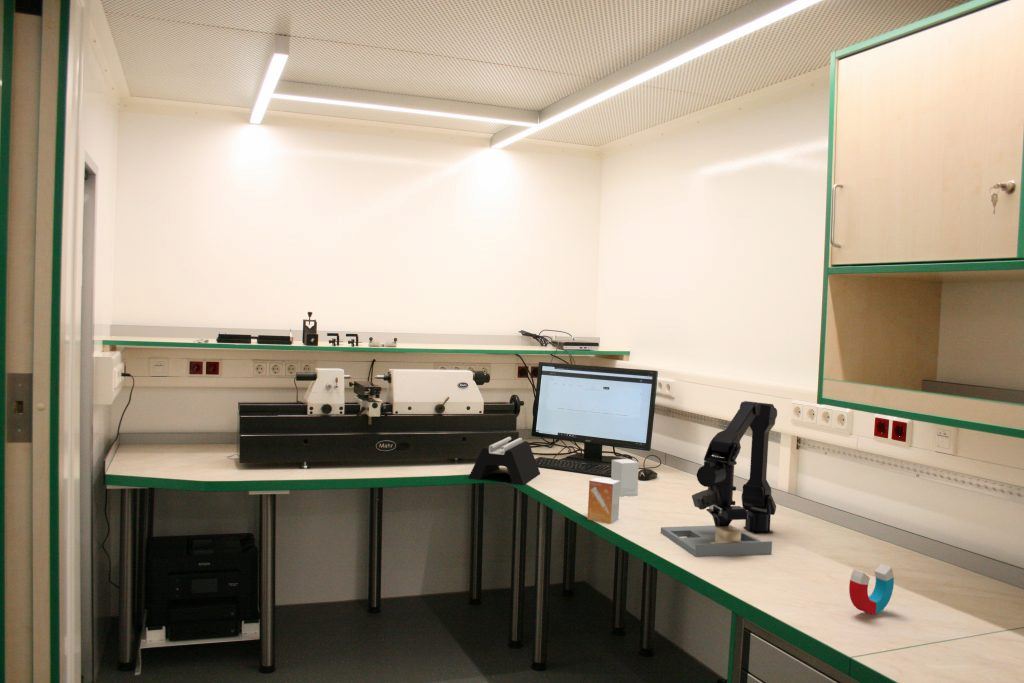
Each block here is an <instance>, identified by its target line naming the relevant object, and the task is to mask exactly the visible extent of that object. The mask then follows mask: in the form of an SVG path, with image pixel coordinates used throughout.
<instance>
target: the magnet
mask: <svg viewBox="0 0 1024 683" xmlns="http://www.w3.org/2000/svg"><path fill="white" fill-rule="evenodd" d="M874 576H875V584H874V585H875V586H874V588H873V590H872V592H871V594H870V595H869V594H868V592H869V591H868V590H869V589H868V587H869V584H870V583H869V582H870V579H871V577H870V576H869V575H868V574H866V573H865V572H864V571H861V570H857V569H855V568H854V569H852V572H851V575H850V578H849V585H848V586H849V587H848V591H849V593H848V594H849V598H850V601H851V603H852V605H853V607H854V608H856V609H857V610H858V611H861V612H864V613H865V614H868V615H877V614H879V613H881V612H882V611H884V609H885V608H886V607H887V606H888V604H889V603H890V600H891V598H892V596H893V592H894V591H893V590H894V586H895V585H894V584H895V583H894V582H895V581H894V580H895V579H894V571H893V568H892V566H889V565H886V564H883V563H880V564H879V566H877V568H876V569H875V570H874Z"/></svg>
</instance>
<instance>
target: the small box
mask: <svg viewBox="0 0 1024 683" xmlns="http://www.w3.org/2000/svg"><path fill="white" fill-rule="evenodd" d="M588 483H589V484H588V501H587V505H588V506H587V520H588V521H595V522H599V523H605V524H610V525H611V524H613V523H615V522H617V521H618V520H619V516H620V514H619V512H620V481H619V480H612V479H611V478H604V477H594V478H591V479H590V480H589V482H588Z"/></svg>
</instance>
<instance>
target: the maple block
mask: <svg viewBox="0 0 1024 683" xmlns="http://www.w3.org/2000/svg"><path fill="white" fill-rule="evenodd" d="M732 526H733V525H732ZM732 526H723V527H716V529H715V543H737V542H741V531H742V530H741V529H739V528H737V527H735V526H733V527H732ZM734 527H735V528H734ZM736 528H737V529H736ZM738 529H739V530H738ZM740 530H741V531H740Z"/></svg>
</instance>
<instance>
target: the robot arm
mask: <svg viewBox="0 0 1024 683" xmlns="http://www.w3.org/2000/svg"><path fill="white" fill-rule="evenodd" d="M777 416H778V409H777V408H776V407H775V406H774V404H773V403H768V402H767V403H765V402H757V401H747V400H744V401H741V403H740V405H739V409H738V410H737V411H736V413H735V415H734V416H733V418H732V419H731V420H730V422H729V423H728V425H727V426H726V428H725V429H724V430H721V431H719V432H717V433H716V434H715V435H714V436H713V438H711V440H710V441H709V445H708V447H707V450H706V453H705V455H704V457H703V465H702V466H700V467H699V468H698V469H697V472H696V479H697V481H698V483H699V484H700V485H701V486H703V487H707V489H705V490H704V489H703V490H701V491H699V492H695V493H694V494H692V495H691V499H692V502H693V505H694V506H693V507H695V508H698V509H699V510H705V509H706V512H708V513H709V514H710V515H711V516H712V520H713V523H714V525H715V527H723V526H729V525H731V523H732V521H739V520H743V521H744V520H745V522H744V523H745V524H744V526H743V529H744V530H746V531H748V532H750V533H752V534H754V535H763V534H764V535H766V534H773V533H774V532H773V531H772V530H771V516H773V515H775V514H776V512H777V511H776V510H777V505H776V502H775V501H774V498H773V496H772V488H771V486H770V484H769V482H768V480H767V470H768V453H769V451H768V450H769V436H770V431H771V430H772V429H773V427H774V426H775V424H776V419H777ZM748 428H750V430H751V432H752V433H751V450H750V451H751V452H750V465H749V466H750V469H749V479H748V480H747V482H746V483H744V484H743V485H742V494H741V505H742V506H741V505H736V501H735V500H734V499H733V498H734V497H733V495H734V492H736V491H737V486H735V485H734V477H735V476H734V475H735V465H737V461H736V459H737V458H738V457H739V454H740V453H741V449H742V448H741V447H742V446H741V440H742V438H743V437H744V434H746V432H747V430H748Z"/></svg>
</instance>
